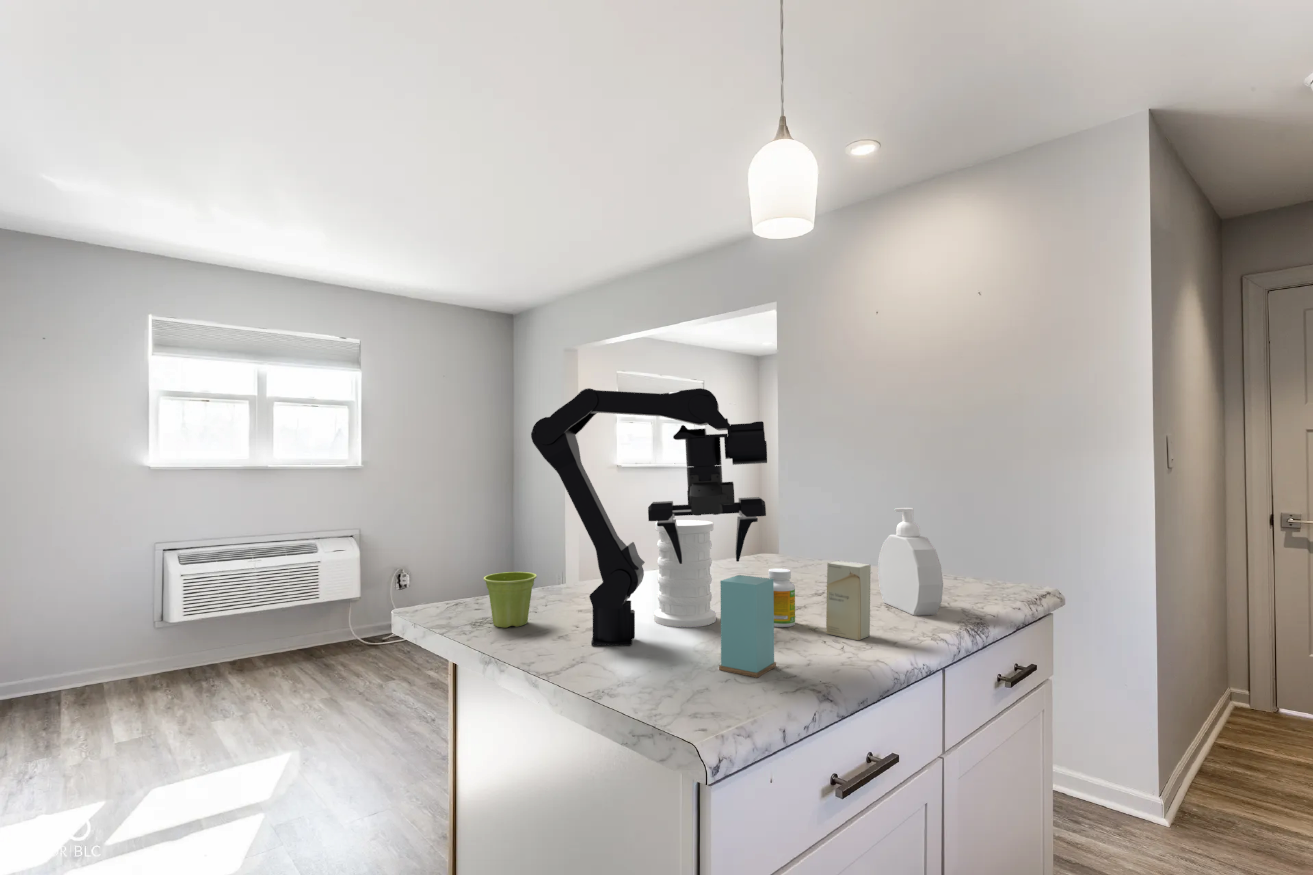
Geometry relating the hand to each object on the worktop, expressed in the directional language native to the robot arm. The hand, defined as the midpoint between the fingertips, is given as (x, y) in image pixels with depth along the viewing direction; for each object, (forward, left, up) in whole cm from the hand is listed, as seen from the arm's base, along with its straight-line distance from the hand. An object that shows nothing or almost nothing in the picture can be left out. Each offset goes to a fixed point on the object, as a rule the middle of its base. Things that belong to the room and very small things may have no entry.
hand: (709, 562), depth 108 cm
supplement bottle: (+14, +12, -13) cm, 23 cm away
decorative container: (-3, +16, -13) cm, 21 cm away
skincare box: (+24, +4, -13) cm, 28 cm away
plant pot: (-35, +14, -13) cm, 40 cm away
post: (+4, -13, -13) cm, 19 cm away
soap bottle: (+42, +23, -13) cm, 50 cm away
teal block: (+4, -13, -13) cm, 18 cm away
